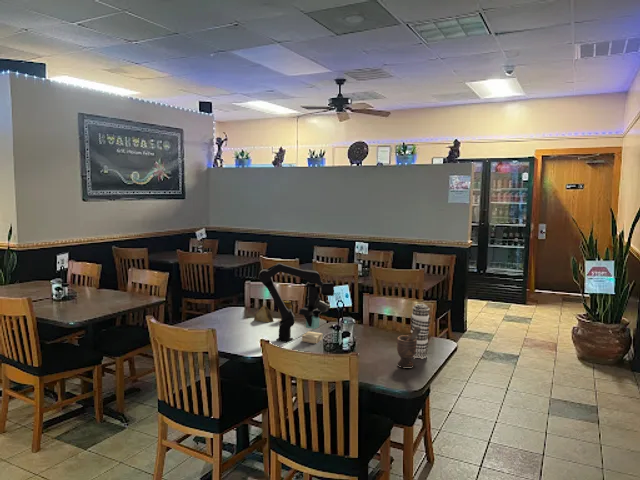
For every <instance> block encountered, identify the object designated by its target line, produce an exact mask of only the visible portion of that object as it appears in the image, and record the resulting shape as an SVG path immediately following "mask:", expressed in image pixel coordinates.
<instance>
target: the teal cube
mask: <svg viewBox="0 0 640 480" xmlns="http://www.w3.org/2000/svg"><path fill="white" fill-rule="evenodd" d="M305 328H307V329H313V330H315V329H317V328H320V316H319V317H314V316H313V317H312V324H311V327H310V326H309V325H308V323H307V321H306V320H305Z"/></svg>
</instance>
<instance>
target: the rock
mask: <svg viewBox="0 0 640 480" xmlns="http://www.w3.org/2000/svg"><path fill="white" fill-rule="evenodd" d="M253 318H254V319H253V320H254V321H256V322H261V321H263V322H262V323H273V322H274V317H273V315H272V314H271V311H270V309H269V308H268V306H267V305H263V306H261V307H260V309H259V310H258V311H257V312H256V313H255V316H254V317H253Z"/></svg>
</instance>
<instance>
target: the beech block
mask: <svg viewBox="0 0 640 480" xmlns="http://www.w3.org/2000/svg"><path fill="white" fill-rule="evenodd" d="M323 335H324V334H323V333H321V332H315V331H309V330H308V331H307V332H305V333H304V334H301V337H302V338H301V342H305V343H310V344H315V343H317V344H318V343H320V342H321V341H322V340H323ZM320 340H321V341H320Z"/></svg>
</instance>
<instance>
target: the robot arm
mask: <svg viewBox="0 0 640 480" xmlns="http://www.w3.org/2000/svg"><path fill="white" fill-rule="evenodd" d="M279 273H285V274H287V275H291V276H295V277H299V278H302V279H304V280H305V281H306V283H305V284H304V287H305V288H308V289H307V291H308V293H307V297H306V300H307V304H306V306H305V307H302V308H300V309H299V311H298V314H299V315H302V316H304V319H305V322H306V321H307V323H308V325H309V326H310V327H311V324H312V317H313V316H314V317H320V314H321V313H326V312H328V311H329V309H330V308H331V303H330V300H326V301H322V298H321V297H320V294H321V295H322V296H324V297H326V296H327V297H333V296H334V295H335V285H334V282H323V280H321V275H320V273H319V272H318V271H317V270H314V269H313V270H310V269H301V268H298V267H293V266H291V265H287V264H285V263H284V264H283V263H282V262H278V263H276V264H275V265H272V266H270V267H268V268H263V269H261V270H260V272H259V275H258V279H259V281H260V282H261V283H262V284H263V286H264V287H265V288H266V289H267V290H268V292H269V294H270V296H271V298H272V300H273V301H274V303H275V305H276V307H277V309H278V310H279V313H280V316H281V317H282V320H281V319H280V320H281V321H278V322H279V323H278V326H279V328H278V338H276V339H275V340H276V341H278V342H282V343H283V342H284V343H288V342H290V341H293V339H294V338H293V337H291V331H292V330H291V329H292V327H293V326H294V325H295V324H296V321H295V319H296V318H295V314H294V313H293V310H291V309H289V310H288V309H287V307H286V306H285V304H284V302H283V301H284V300H283V299H282V298H283V297H281V295H280V292H279V291H278V289H277V287H276V286H275V283H274V281H273V277H274V276H275V275H277V274H279ZM281 317H280V318H281Z"/></svg>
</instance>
